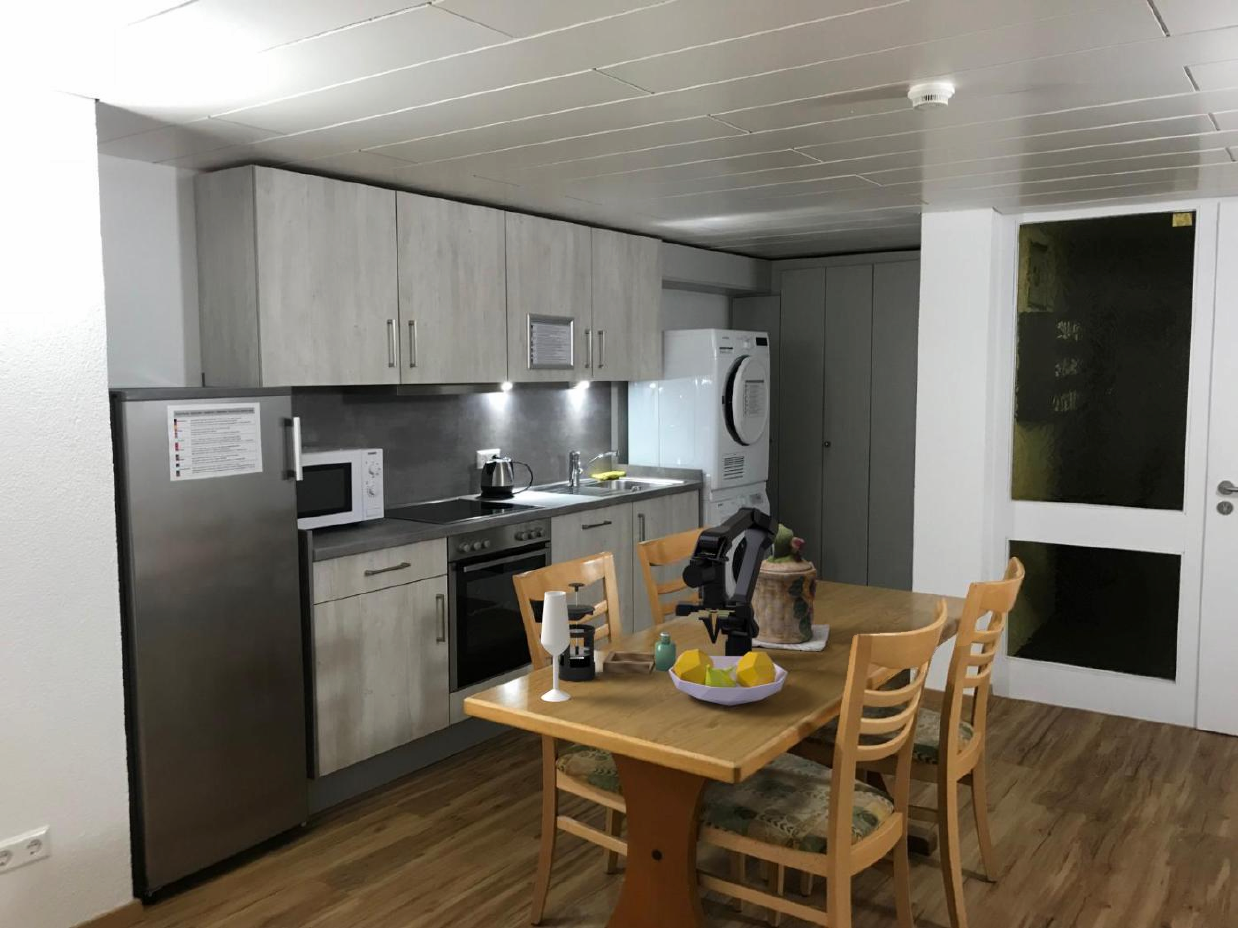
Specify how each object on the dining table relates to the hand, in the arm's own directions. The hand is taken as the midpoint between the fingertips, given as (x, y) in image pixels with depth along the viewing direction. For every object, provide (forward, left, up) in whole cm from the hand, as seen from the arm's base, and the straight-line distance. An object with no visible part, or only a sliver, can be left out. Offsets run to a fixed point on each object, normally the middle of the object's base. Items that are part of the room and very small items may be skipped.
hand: (713, 643), depth 250 cm
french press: (+33, +10, -7) cm, 35 cm away
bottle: (+12, 0, -7) cm, 14 cm away
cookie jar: (-17, -35, -7) cm, 39 cm away
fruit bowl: (-4, +21, -7) cm, 23 cm away
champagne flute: (+34, +27, -7) cm, 44 cm away
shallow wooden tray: (+21, 0, -7) cm, 22 cm away
